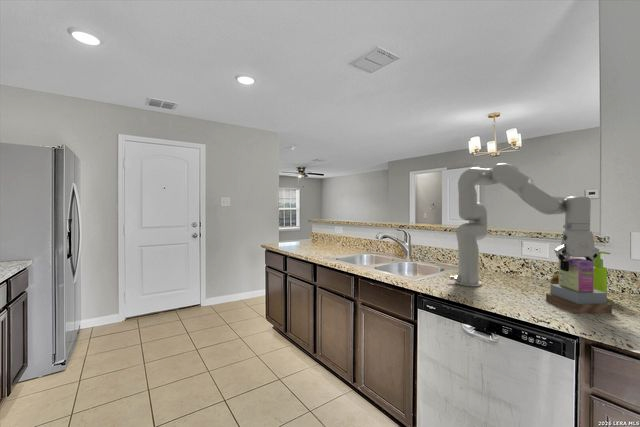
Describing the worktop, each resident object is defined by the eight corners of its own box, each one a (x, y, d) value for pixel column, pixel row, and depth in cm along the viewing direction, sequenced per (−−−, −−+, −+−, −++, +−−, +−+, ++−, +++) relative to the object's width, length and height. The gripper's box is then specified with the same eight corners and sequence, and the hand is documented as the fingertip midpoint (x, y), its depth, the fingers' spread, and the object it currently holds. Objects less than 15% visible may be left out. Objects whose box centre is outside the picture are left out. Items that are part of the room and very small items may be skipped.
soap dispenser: (612, 300, 124) (612, 253, 124) (590, 297, 128) (590, 252, 128) (607, 296, 129) (608, 251, 129) (586, 294, 133) (587, 250, 133)
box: (594, 292, 112) (594, 261, 112) (578, 292, 112) (578, 261, 112) (572, 284, 122) (572, 256, 122) (558, 285, 123) (557, 256, 122)
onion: (545, 286, 147) (546, 270, 146) (555, 284, 150) (555, 268, 149) (563, 290, 140) (563, 273, 139) (573, 288, 143) (573, 271, 143)
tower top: (578, 304, 111) (578, 293, 111) (550, 293, 124) (550, 284, 124) (606, 303, 111) (606, 292, 111) (576, 293, 124) (576, 283, 124)
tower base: (577, 315, 110) (577, 305, 110) (546, 302, 125) (546, 293, 125) (611, 315, 110) (612, 304, 110) (576, 301, 125) (576, 292, 125)
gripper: (564, 228, 113) (563, 273, 113) (608, 228, 113) (606, 272, 114) (548, 227, 120) (547, 268, 121) (589, 226, 120) (588, 268, 121)
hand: (576, 270), depth 117 cm, fingers open, 9 cm apart
